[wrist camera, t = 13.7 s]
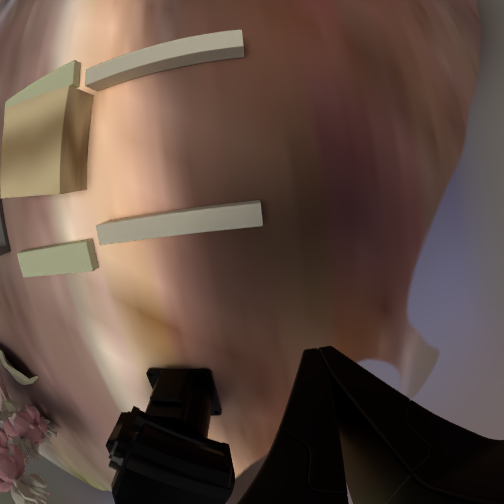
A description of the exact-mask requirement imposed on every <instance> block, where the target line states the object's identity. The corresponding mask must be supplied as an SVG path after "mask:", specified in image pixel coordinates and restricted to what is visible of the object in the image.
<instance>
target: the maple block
mask: <svg viewBox="0 0 504 504" xmlns="http://www.w3.org/2000/svg"><path fill="white" fill-rule="evenodd" d="M93 97H94V95H91V94H89V93H86V92H84V91H81V90H79V89H76V88H74V87H71V86H66V87H63V88H59V89H56V90H53V91H50V92H47V93H44V94H41V95H38V96H35V97H33V98H30V99H28V100H25V101H22V102H20V103H18V104H15V105H13V106H10V107H8V108H7V110H6V116H5V123H4V130H3V140H2V152H1V173H0V194H1V198H11V197H23V196H37V195H54V194H64V193H69V192H75V191H81V190H86V188H87V155H88V140H89V129H90V120H91V111H92V104H93Z"/></svg>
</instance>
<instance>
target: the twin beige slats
mask: <svg viewBox="0 0 504 504" xmlns="http://www.w3.org/2000/svg"><path fill="white" fill-rule="evenodd" d="M241 57H244V46H243V38H242V30H233V31H224V32H217V33H210V34H204V35H198V36H193V37H188V38H183V39H178V40H174V41H170V42H165V43H162V44H158V45H154V46H150V47H147V48H143V49H140V50H137V51H134V52H131V53H128V54H125V55H122V56H119V57H116V58H113V59H111V60H108V61H106V62H103V63H100V64H98V65H96V66H93V67H91V68H88V69H86V74H85V86H87V87H89V88H91V89H93V90H96V91H99V90H102V89H105V88H108V87H110V86H113V85H116V84H119V83H122V82H125V81H128V80H131V79H135V78H138V77H142V76H145V75H149V74H152V73H156V72H160V71H164V70H169V69H173V68H177V67H182V66H187V65H192V64H198V63H204V62H210V61H216V60H224V59H232V58H241ZM258 226H263V221H262V211H261V202H260V200H255V201H245V202H235V203H226V204H218V205H209V206H201V207H194V208H186V209H179V210H172V211H165V212H158V213H151V214H145V215H138V216H132V217H126V218H120V219H115V220H109V221H106V222H103V223H101V224H98V225H96V229H97V234H98V239H99V244H100V245H105V244H113V243H120V242H127V241H135V240H143V239H151V238H159V237H167V236H175V235H184V234H192V233H201V232H210V231H219V230H229V229H238V228H248V227H258Z"/></svg>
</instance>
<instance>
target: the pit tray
mask: <svg viewBox="0 0 504 504" xmlns="http://www.w3.org/2000/svg"><path fill="white" fill-rule="evenodd" d="M9 251H10V246H9V242H8V237H7V232H6V227H5V221H4V215H3V208H2V201H1V194H0V255H3V254H5V253H7V252H9Z"/></svg>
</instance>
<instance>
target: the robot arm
mask: <svg viewBox="0 0 504 504" xmlns="http://www.w3.org/2000/svg"><path fill="white" fill-rule="evenodd" d="M151 373H152V374H151ZM146 374H147V377H148V379H149V382H150V384H151V386H152V389H153V391H152V394H151V396H150V401H149V404H148V406H147V409H146V412H143V411H141V410H139V408H137V407H135V406H134V407H133V409H132V411H131V412H129V411H128V412H121V415H120V417H119V419H118V421H117V423H116V425H115V427H114V429H113V431H112V433H111V435H110V437H109V439H108V441H107V443H106V447H107V449H108V452H109V454H110V456H109V458H110V459H111V461H110V463H109V467H111V468H113V469H115V470H117V471H116V474H115V476H114V479H113V482H112V485H111V486H112V494H113V497H114V501H115V504H225V503H226V501H227V500H228V499H229V497H230V496H231V494H232V491H233V488H234V483H235V473H234V468H233V463H232V458H231V453H230V448H229V444H226V443H220V442H217V441H214V440H211V439H208V438H207V437H208V430H209V423H210V416H211V415H221V413H222V409H221V405H220V402H219V398H218V395H217V391H216V387H215V383H214V379H213V375H212V372H211V371H210V370H209V369H153V368H150V369H148V370H147V373H146ZM206 374H208V375H206ZM346 483H347V486H348V489H349V492H350V495H351V499H352V502H353V504H504V440H494V439H489V438H486V437H483V436H481V435H478V434H476V433H474V432H471V431H469V430H467V429H465V428H462V427H460V426H458V425H456V424H453V423H451V422H449V421H447V420H445V419H443V418H441V417H439V416H437V415H435V414H433V413H432V412H430V411H428V410H427V409H425V408H423V407H422V406H420V405H418V404H417V403H416V402H414V401H412V400H411V401H410V399H409V398H408V397H406V396H405V395H403V394H402V393H400V392H399V391H397V390H395V389H394V388H392V387H391V386H389V385H388V384H386V383H385V382H383V381H382V380H380V379H379V378H377V377H376V376H374V375H373V374H372V373H370V372H368V371H367V370H366V369H364V368H363V367H361V366H360V365H358V364H357V363H355V362H354V361H352V360H351V359H350V358H348V357H347V356H345V355H344V354H342V353H341V352H339V351H338V350H337V349H335V348H334V347H332V346H327V347H320V348H318V349H317V348H313V349H306V350H304V351H303V354H302V358H301V361H300V365H299V368H298V371H297V375H296V378H295V381H294V384H293V388H292V391H291V394H290V397H289V400H288V403H287V406H286V409H285V412H284V415H283V418H282V421H281V424H280V426H279V429H278V431H277V434H276V437H275V440H274V442H273V444H272V447H271V449H270V451H269V453H268V456H267V458H266V459H265V461H264V463H263V465H262V466H261V468H260V470H259V472H258V473H257V475H256V476H255V478H254V479H253V481H252V483H251V484H250V486H249V487H248V489H247V490H246V492H245V493H244V495H243V496H242V498H241V499H240V500H239V502H238V503H237V504H349V503H348V496H347V486H346Z"/></svg>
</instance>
